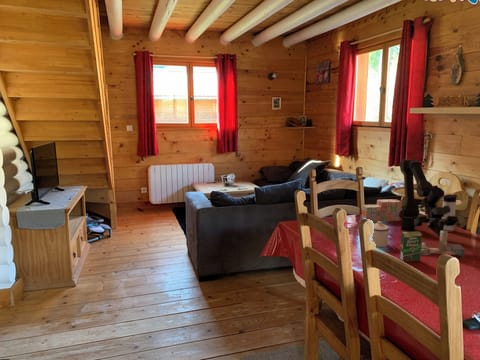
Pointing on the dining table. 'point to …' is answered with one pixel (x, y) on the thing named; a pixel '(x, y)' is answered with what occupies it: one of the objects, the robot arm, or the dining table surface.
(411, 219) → the robot arm
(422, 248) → the pintle
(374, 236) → the teacup with lid
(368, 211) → the stack of blocks
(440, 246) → the link
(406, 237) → the coffee box
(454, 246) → the keeper
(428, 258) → the dining table surface
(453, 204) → the travel mug
